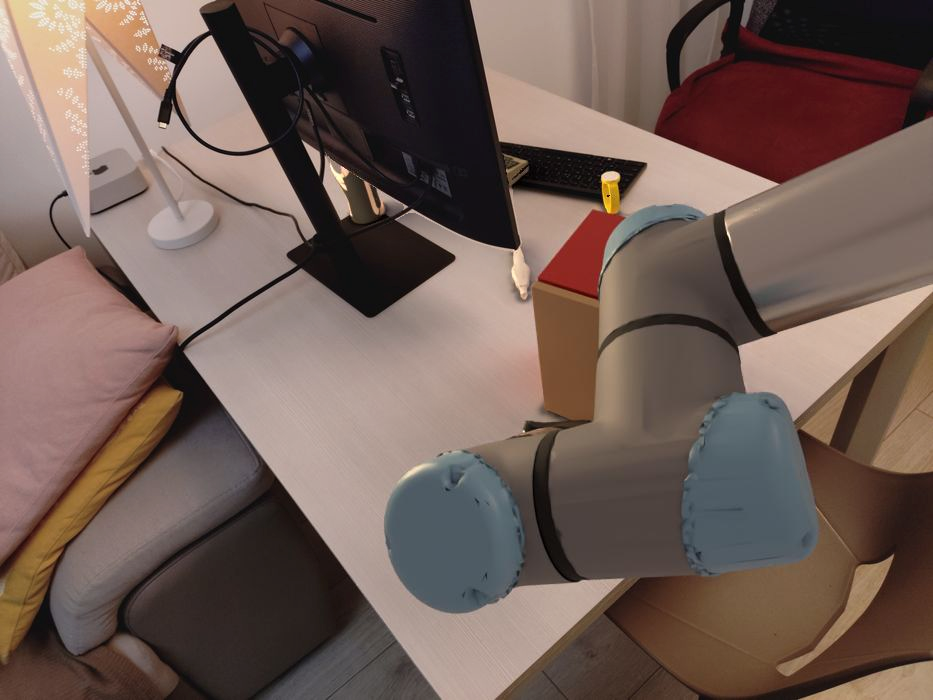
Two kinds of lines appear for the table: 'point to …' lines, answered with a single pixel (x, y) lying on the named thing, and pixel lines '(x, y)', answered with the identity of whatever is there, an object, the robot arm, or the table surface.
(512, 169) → the cream printed box
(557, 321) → the cabinet door
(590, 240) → the cabinet
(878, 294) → the robot arm
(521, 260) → the white elongated piece
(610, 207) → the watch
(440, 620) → the table surface
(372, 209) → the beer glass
